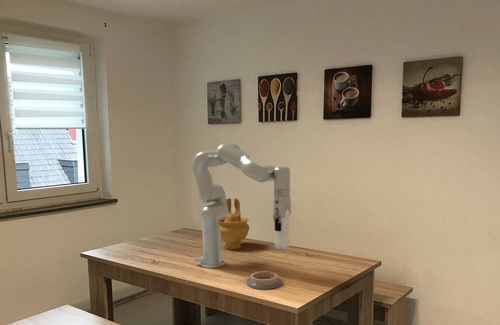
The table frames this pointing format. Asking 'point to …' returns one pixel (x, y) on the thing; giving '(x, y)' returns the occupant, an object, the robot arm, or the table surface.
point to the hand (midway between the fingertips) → (281, 229)
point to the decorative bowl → (233, 226)
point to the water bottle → (282, 233)
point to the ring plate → (264, 280)
